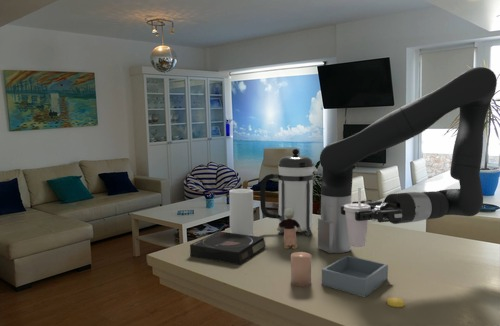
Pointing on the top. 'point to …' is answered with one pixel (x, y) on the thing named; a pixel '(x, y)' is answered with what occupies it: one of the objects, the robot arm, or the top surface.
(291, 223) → the grandmother figurine
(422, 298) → the top surface
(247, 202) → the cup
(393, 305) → the yellow disc
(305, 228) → the coffee press
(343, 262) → the tote
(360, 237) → the smoothie
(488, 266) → the top surface
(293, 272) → the canister
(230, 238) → the portable cd player
